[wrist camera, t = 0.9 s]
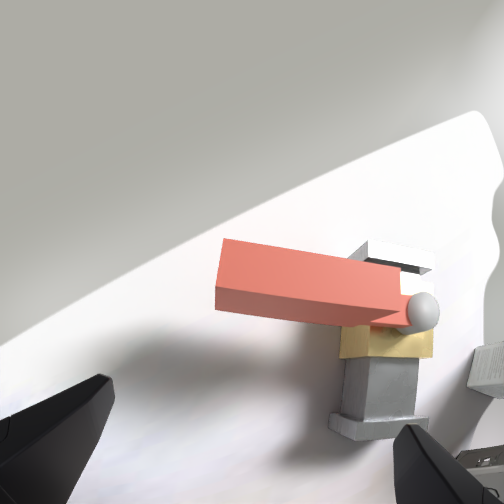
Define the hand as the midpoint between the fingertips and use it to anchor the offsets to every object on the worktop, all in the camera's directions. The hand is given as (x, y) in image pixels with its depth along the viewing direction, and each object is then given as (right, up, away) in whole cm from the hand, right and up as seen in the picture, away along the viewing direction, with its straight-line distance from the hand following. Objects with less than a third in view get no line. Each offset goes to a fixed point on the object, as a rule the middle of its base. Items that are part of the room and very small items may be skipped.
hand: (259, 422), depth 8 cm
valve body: (+9, -3, +14) cm, 17 cm away
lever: (+4, +2, +10) cm, 11 cm away
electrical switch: (+21, -17, +11) cm, 29 cm away
